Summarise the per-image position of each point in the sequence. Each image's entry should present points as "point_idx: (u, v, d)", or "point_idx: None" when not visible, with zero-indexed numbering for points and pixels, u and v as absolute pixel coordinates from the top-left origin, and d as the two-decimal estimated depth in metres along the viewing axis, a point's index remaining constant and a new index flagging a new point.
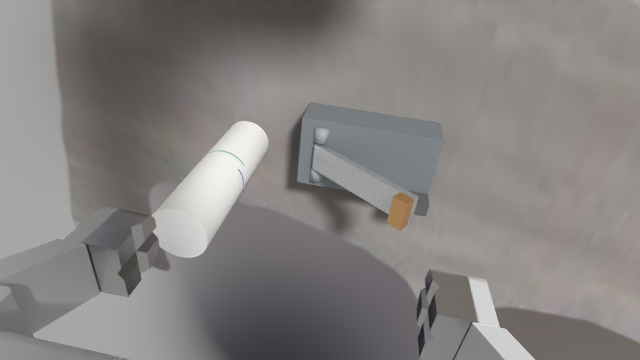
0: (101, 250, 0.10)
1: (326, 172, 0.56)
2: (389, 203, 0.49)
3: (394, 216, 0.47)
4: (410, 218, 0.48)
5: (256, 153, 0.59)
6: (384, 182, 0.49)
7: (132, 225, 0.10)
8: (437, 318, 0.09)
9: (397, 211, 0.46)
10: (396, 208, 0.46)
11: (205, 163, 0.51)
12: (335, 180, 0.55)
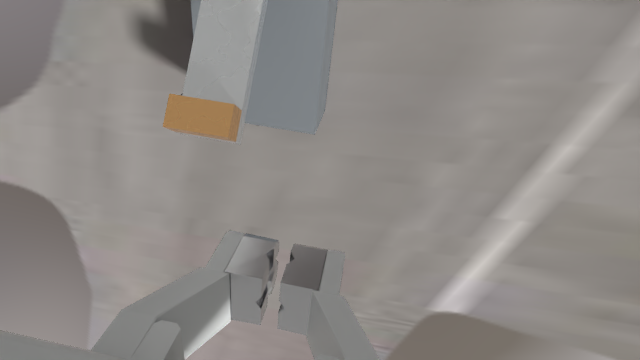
0: (243, 279, 0.09)
1: None
2: (208, 87, 0.24)
3: (190, 111, 0.23)
4: (191, 135, 0.25)
5: None
6: (249, 73, 0.24)
7: (266, 251, 0.10)
8: (282, 287, 0.09)
9: (204, 117, 0.23)
10: (210, 113, 0.23)
11: None
12: None
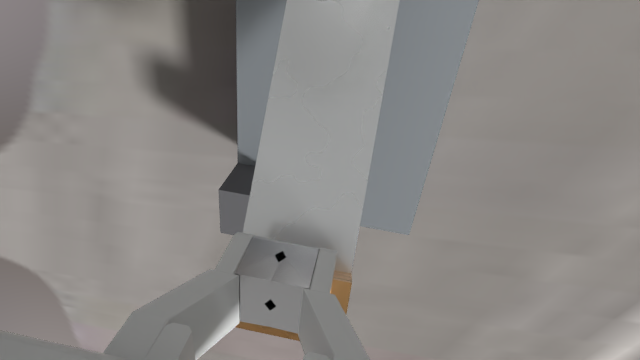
0: (253, 281, 0.09)
1: None
2: (289, 228, 0.13)
3: None
4: None
5: None
6: (363, 202, 0.13)
7: (275, 253, 0.10)
8: (273, 285, 0.09)
9: None
10: None
11: None
12: None
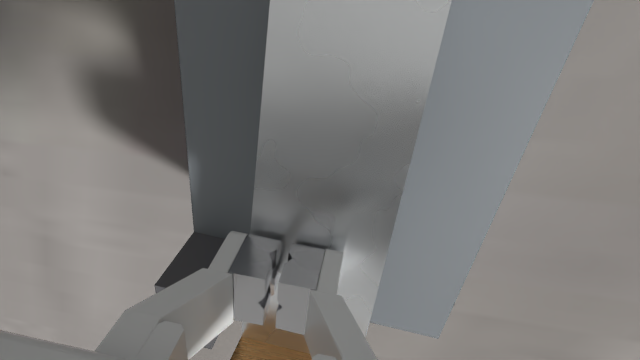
0: (247, 279, 0.09)
1: None
2: None
3: None
4: None
5: None
6: (373, 303, 0.12)
7: (269, 252, 0.10)
8: (280, 286, 0.09)
9: None
10: None
11: None
12: (284, 7, 0.09)
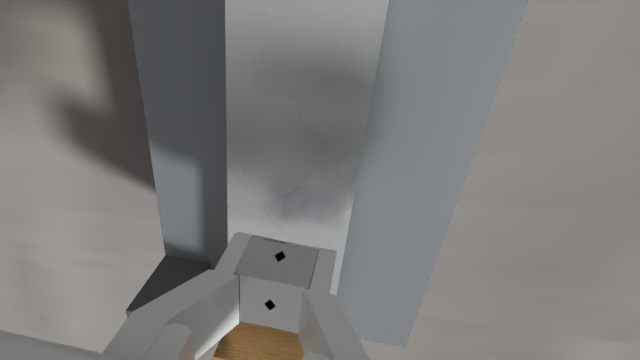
0: (253, 281, 0.09)
1: None
2: None
3: None
4: None
5: None
6: (336, 292, 0.14)
7: (275, 253, 0.10)
8: (273, 285, 0.09)
9: None
10: None
11: None
12: (238, 57, 0.10)
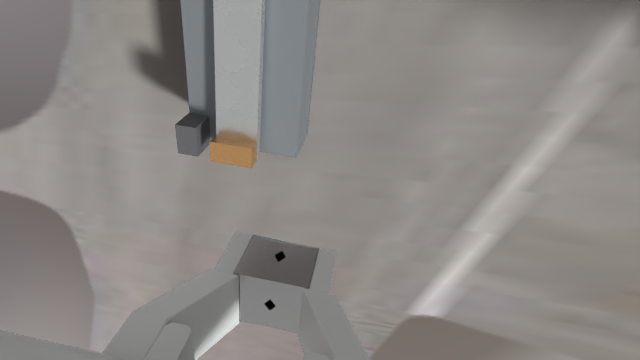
0: (253, 281, 0.09)
1: None
2: (232, 127, 0.36)
3: (225, 152, 0.35)
4: None
5: None
6: (258, 116, 0.35)
7: (275, 253, 0.10)
8: (272, 285, 0.09)
9: (234, 156, 0.35)
10: (237, 154, 0.35)
11: None
12: (217, 20, 0.31)
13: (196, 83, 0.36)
